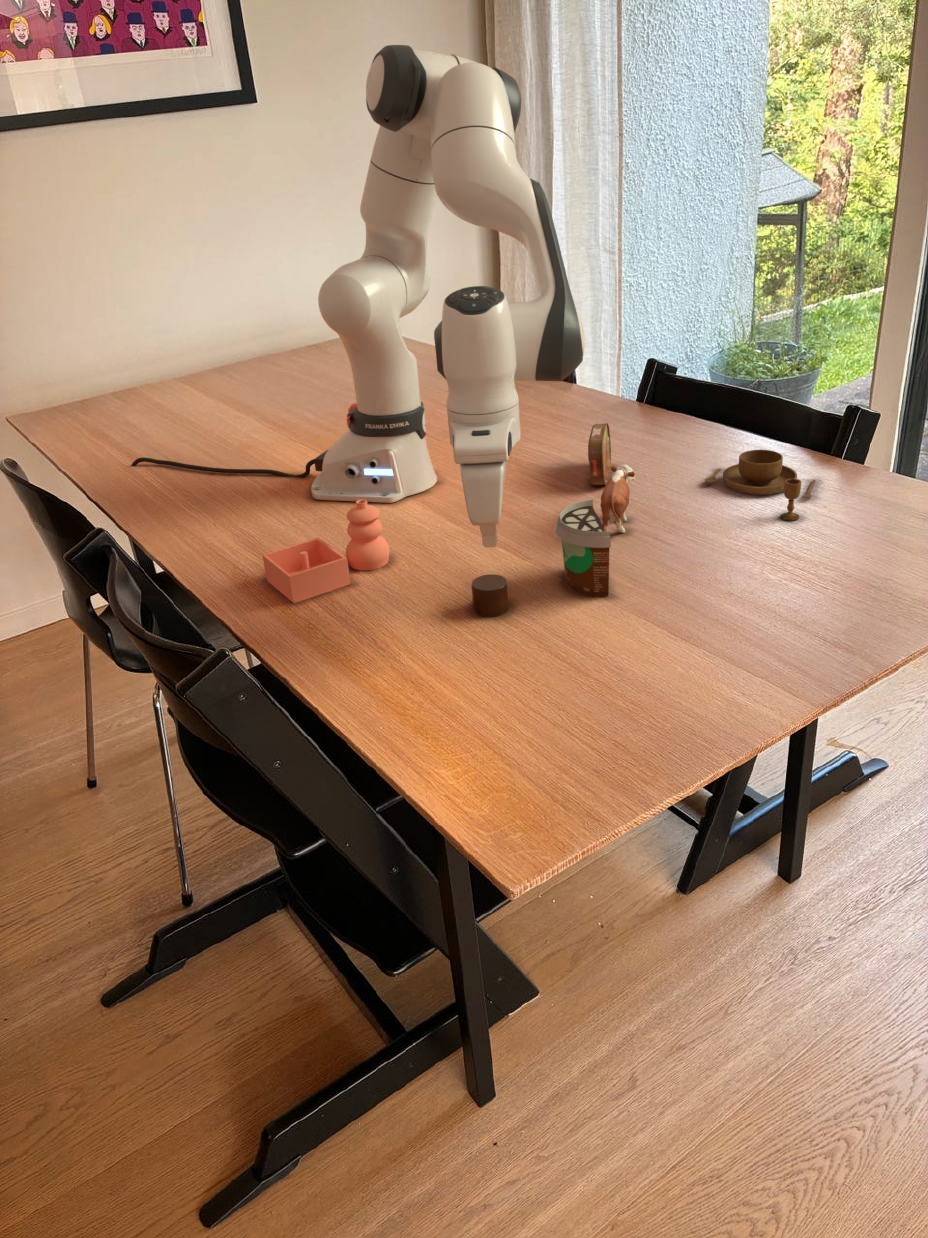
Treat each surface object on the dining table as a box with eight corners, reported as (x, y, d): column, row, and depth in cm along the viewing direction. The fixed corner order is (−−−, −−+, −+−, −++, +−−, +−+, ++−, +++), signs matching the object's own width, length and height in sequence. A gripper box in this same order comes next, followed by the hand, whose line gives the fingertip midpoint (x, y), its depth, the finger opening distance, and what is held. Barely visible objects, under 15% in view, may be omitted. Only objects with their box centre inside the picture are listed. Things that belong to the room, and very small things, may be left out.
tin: (605, 492, 168) (605, 444, 164) (586, 492, 169) (586, 444, 165) (612, 461, 181) (612, 416, 177) (594, 461, 182) (594, 416, 178)
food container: (551, 566, 145) (548, 502, 140) (592, 562, 145) (592, 498, 140) (565, 605, 134) (563, 537, 129) (610, 600, 134) (610, 532, 130)
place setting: (820, 476, 168) (823, 442, 165) (801, 522, 152) (805, 485, 149) (715, 467, 175) (717, 435, 172) (687, 510, 159) (688, 475, 156)
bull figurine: (638, 508, 161) (639, 460, 157) (622, 543, 150) (622, 492, 146) (611, 507, 163) (611, 459, 159) (593, 540, 152) (593, 490, 148)
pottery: (293, 603, 140) (282, 539, 136) (267, 580, 148) (255, 519, 143) (403, 566, 149) (397, 504, 144) (373, 546, 156) (365, 487, 151)
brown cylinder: (472, 617, 133) (470, 590, 131) (474, 600, 137) (473, 574, 135) (507, 616, 133) (506, 590, 131) (509, 599, 137) (508, 573, 135)
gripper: (465, 403, 132) (473, 500, 139) (452, 455, 115) (462, 564, 121) (512, 400, 132) (518, 498, 138) (506, 452, 114) (514, 562, 120)
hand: (492, 529), depth 130 cm, fingers open, 8 cm apart
